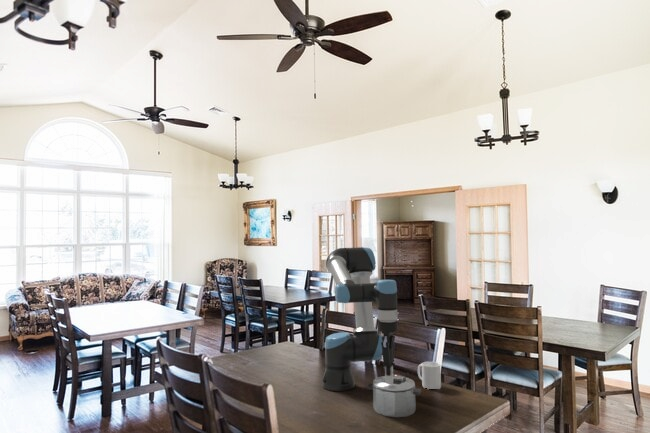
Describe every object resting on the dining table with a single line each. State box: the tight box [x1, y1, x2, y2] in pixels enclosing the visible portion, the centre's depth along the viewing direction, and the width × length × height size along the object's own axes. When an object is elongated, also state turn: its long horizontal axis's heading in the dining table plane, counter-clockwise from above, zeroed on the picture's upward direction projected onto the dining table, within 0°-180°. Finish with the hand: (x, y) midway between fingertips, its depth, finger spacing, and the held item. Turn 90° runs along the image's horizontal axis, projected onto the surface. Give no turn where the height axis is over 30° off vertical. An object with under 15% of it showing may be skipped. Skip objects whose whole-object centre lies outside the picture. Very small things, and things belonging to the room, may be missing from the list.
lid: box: [372, 374, 416, 392], centre depth 164 cm, size 16×17×2 cm
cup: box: [417, 361, 442, 390], centre depth 188 cm, size 8×12×10 cm
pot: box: [366, 383, 422, 418], centre depth 163 cm, size 21×17×9 cm
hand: (389, 383), depth 157 cm, fingers closed
